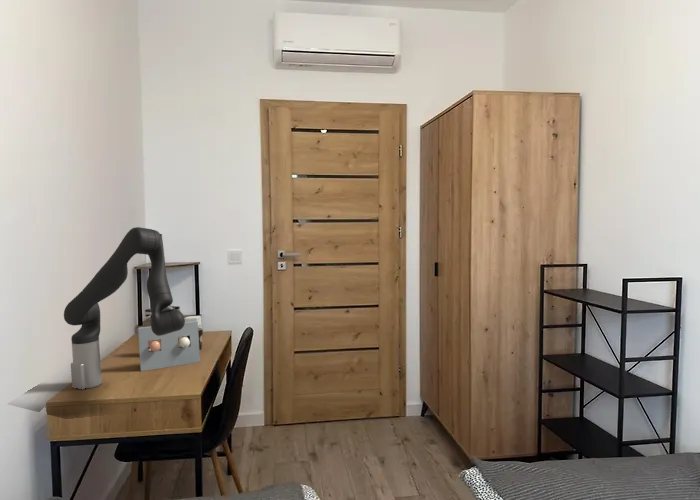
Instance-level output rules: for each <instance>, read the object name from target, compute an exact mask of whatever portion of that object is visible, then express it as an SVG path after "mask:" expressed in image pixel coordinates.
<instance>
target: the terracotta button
mask: <svg viewBox="0 0 700 500" xmlns="http://www.w3.org/2000/svg"><path fill="white" fill-rule="evenodd" d="M149 346H150V349H151V351H154V352H156V351H158V350H159V349H161V343H160V341H159V339H158V340H151V341H150V343H149Z"/></svg>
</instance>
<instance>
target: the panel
mask: <svg viewBox="0 0 700 500" xmlns="http://www.w3.org/2000/svg"><path fill="white" fill-rule="evenodd" d="M137 331H138V333H137V334H138V335H137V336H138V349H139V351H138V352H139V367H140V368H139V369H140V372H144V371H146V372H147V371H152V370H156V369H157V370H159V369H165V368H171V367H178V366H185V365H191V364H198V363H201V357H200V355H201V354H200V353H201V352H200V350H199V335H198V322H197V321H191V322H185V324H184V327H183V328H182V329H181V330H178V331H174V332H172V333H168V334H165V335H161V336H157V335H155V334H154V333H153V331H152V329H151V325H150V326H141V327H138V328H137ZM181 336H189V337H190V345H189V346H188V347H182V346H181V345H180V343H179V338H180V337H181ZM150 340H158V341H159V340H160V341H159V342H160V349H159V350H158V351H156V352H154V351H149V348H148V341H150Z"/></svg>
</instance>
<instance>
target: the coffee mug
mask: <svg viewBox="0 0 700 500" xmlns="http://www.w3.org/2000/svg"><path fill="white" fill-rule="evenodd" d="M203 329H204V328H203V327H201V328H198V335H199V351H201V350H202V348H203V346H202V345H203V332H204V330H203ZM187 337H188V339H189V341H190V337H189V336H187ZM189 345H190V344H189Z"/></svg>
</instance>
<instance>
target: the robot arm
mask: <svg viewBox="0 0 700 500" xmlns="http://www.w3.org/2000/svg"><path fill="white" fill-rule="evenodd" d="M137 254H139V255H148V257H149V260H150V264H151V265H150V271H149V273H148V276H147V280H146V290H147V295H148V297H149V302H150V307H151V308H150V307H149V308H148V309H145V310H144V314H145V315H144V316H145V317H146V318H148V317H151V318H150V326H151V329H152V331H153V333H154V334H155V335H157V336H161V335H165V334H168V333H172V332H174V331H178V330H181V329H182V328H183V327H184V324H185V318H186V317H185V316H184V313H182V311H181V307H180V306H178V305H177V306H175V305H172V304H173V302H174V300H173V295H172V292H171V288H170V285H169V281H168V277H167V270H166V260H165V259H166V258H165V249H164V243H163V238H162V235H161V233H160V232H159V231H158V230H155V229H152V228H145V227H140V226H139V227H138V226H137V227H132V228H131V229H130V230H128V232H126V234H125V235H124V236H123V238H122V240H121V242H120V243H119V244H118V247H117V248H116V249H115V250H114V252H113V253H112V254H111V256H110V257H109V258H108V260H107V261H106V262H105V263H104V265H102V267H100V268H99V270H98V272H96V273H95V275H94V276H93V277H92V279H91V280H90V281H89V282H88V283H87V284H86V286H85V287H84V288H83V289H82V290H81V291H80V292H79V293H78V294H77V295H76V296H75V297H74V298H73V299H72V300H70V302H68V303H67V304H66V306H65V308H64V311H63V319H64V321H65V323H66V324H68V325H69V326H80V328H79V329H78V330H77V331H76V332H75V333H74V334H72V336H71V340H70V341H71V354H72V362H71V363H70V373H71V374H70V375H71V388H72V387H74V388H73V389H76V388H78V389H77V390H81V389H82V390H84V389H85V388H86V389H92V388H96V387H98V386H100V385H102V384H103V380H102V379H103V377H102V367H101V366H102V365H101V362H102V361H101V351H100V350H101V349H100V333H101V308H100V305H99V302H102V301H103V300H105V299H107V298H109V297H110V296H111V295H113V294H115V293H116V292H117V291H118V290H119V289H120V287H122V285H123V284H125V282H126V280H127V277H128V276H129V275H128V271H129V270H128V269H129V268H128V263H129V261H130V260H131V259H132V258H133V257H134V256H135V255H137ZM86 389H85V390H86Z"/></svg>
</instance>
